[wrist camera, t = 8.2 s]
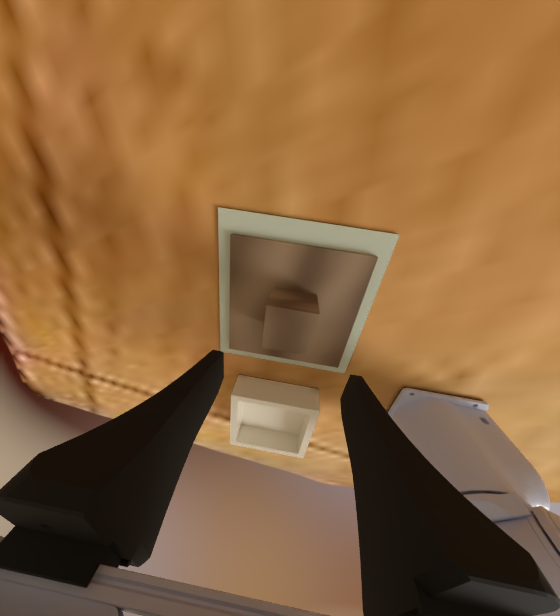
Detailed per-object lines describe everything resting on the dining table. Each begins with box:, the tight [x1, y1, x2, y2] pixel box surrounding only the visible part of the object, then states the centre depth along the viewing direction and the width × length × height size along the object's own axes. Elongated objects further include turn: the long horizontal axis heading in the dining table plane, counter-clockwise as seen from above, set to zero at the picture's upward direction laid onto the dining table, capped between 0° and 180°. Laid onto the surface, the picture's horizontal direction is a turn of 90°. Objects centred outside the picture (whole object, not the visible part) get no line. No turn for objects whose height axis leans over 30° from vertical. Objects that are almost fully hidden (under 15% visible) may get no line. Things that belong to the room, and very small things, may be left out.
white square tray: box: [230, 375, 320, 458], centre depth 26 cm, size 10×10×3 cm
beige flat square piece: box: [218, 207, 399, 374], centre depth 19 cm, size 14×15×1 cm
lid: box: [229, 233, 378, 368], centre depth 18 cm, size 12×12×4 cm
